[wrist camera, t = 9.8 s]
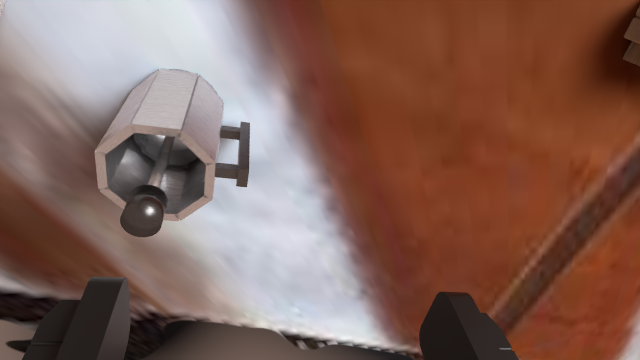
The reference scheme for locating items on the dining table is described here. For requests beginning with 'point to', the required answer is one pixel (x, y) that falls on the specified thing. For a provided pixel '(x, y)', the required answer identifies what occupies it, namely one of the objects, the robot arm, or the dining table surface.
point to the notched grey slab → (633, 40)
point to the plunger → (153, 184)
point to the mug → (1, 6)
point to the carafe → (175, 121)
